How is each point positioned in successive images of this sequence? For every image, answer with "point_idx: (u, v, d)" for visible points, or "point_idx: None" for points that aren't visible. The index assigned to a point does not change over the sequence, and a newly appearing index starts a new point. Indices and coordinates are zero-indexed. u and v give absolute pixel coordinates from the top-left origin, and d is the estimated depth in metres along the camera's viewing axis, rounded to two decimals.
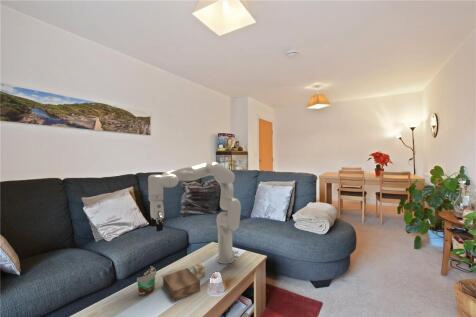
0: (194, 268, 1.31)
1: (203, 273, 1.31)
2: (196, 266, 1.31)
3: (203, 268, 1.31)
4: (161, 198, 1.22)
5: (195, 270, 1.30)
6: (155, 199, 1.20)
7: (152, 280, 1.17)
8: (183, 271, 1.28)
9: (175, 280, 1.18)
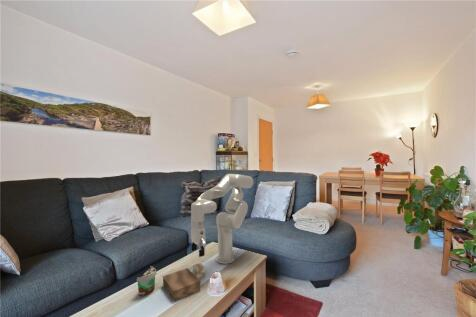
0: (194, 268, 1.31)
1: (203, 273, 1.31)
2: (196, 266, 1.31)
3: (203, 268, 1.31)
4: (203, 225, 1.30)
5: (195, 270, 1.30)
6: (198, 226, 1.27)
7: (152, 280, 1.17)
8: (183, 271, 1.28)
9: (175, 280, 1.18)
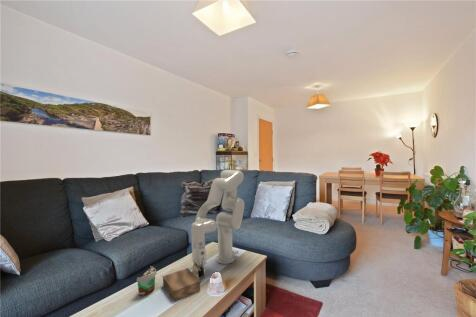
0: (194, 268, 1.31)
1: None
2: (196, 266, 1.31)
3: None
4: (203, 245, 1.30)
5: (195, 270, 1.30)
6: (199, 246, 1.28)
7: (152, 280, 1.17)
8: (183, 271, 1.28)
9: (175, 280, 1.18)
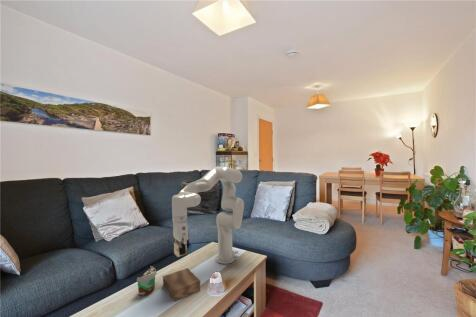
0: (175, 245, 1.19)
1: None
2: (177, 243, 1.19)
3: None
4: (185, 219, 1.18)
5: (176, 247, 1.18)
6: (179, 221, 1.16)
7: (152, 280, 1.17)
8: (183, 271, 1.28)
9: (175, 280, 1.18)
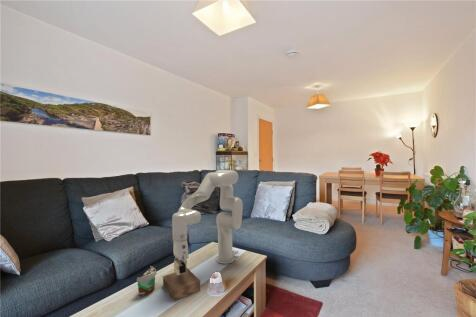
0: (175, 263, 1.19)
1: None
2: (177, 261, 1.19)
3: None
4: (185, 237, 1.18)
5: (176, 265, 1.18)
6: (180, 239, 1.16)
7: (152, 280, 1.17)
8: None
9: (175, 280, 1.18)
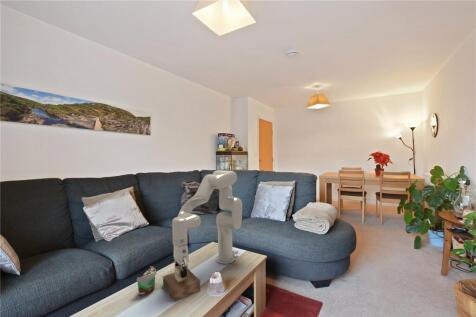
0: (175, 270, 1.19)
1: None
2: (177, 268, 1.19)
3: None
4: (186, 242, 1.18)
5: (176, 272, 1.18)
6: (180, 244, 1.16)
7: (152, 280, 1.17)
8: None
9: (175, 280, 1.18)
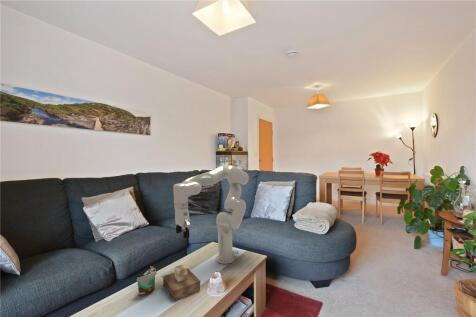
0: (175, 270, 1.19)
1: (185, 276, 1.19)
2: (177, 268, 1.19)
3: (185, 270, 1.19)
4: (186, 206, 1.26)
5: (176, 272, 1.18)
6: (181, 207, 1.24)
7: (152, 280, 1.17)
8: None
9: (175, 280, 1.18)
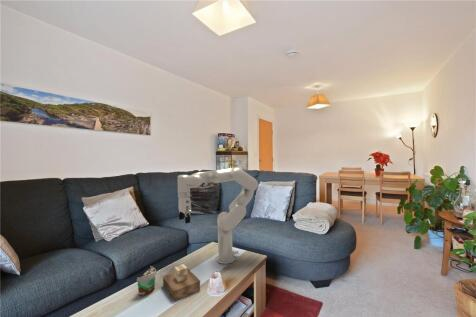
0: (175, 270, 1.19)
1: (185, 276, 1.19)
2: (177, 268, 1.19)
3: (185, 270, 1.19)
4: (188, 195, 1.42)
5: (176, 272, 1.18)
6: (184, 196, 1.40)
7: (152, 280, 1.17)
8: None
9: (175, 280, 1.18)
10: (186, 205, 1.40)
